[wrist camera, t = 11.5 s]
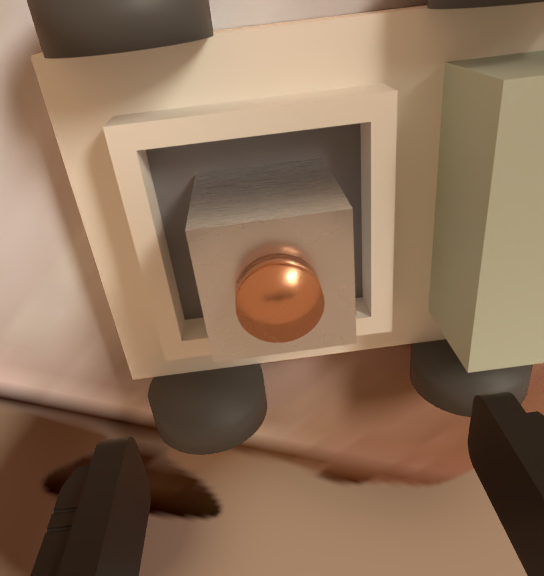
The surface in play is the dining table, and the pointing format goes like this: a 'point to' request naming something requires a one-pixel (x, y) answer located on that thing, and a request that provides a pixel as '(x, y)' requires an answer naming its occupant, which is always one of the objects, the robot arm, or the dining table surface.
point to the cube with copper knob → (273, 259)
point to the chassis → (342, 163)
